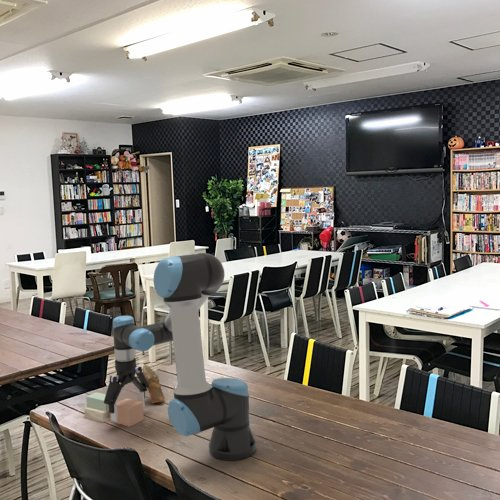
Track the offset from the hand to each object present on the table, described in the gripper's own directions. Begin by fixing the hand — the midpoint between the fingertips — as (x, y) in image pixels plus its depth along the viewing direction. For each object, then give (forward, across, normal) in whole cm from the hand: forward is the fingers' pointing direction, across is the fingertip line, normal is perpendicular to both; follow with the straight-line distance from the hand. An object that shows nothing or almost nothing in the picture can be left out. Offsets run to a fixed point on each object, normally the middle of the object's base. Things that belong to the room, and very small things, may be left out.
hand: (128, 414), depth 212 cm
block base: (+3, +2, -12) cm, 13 cm away
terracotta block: (+3, 0, 0) cm, 3 cm away
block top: (-1, +2, -12) cm, 13 cm away
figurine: (+3, -19, -5) cm, 20 cm away
